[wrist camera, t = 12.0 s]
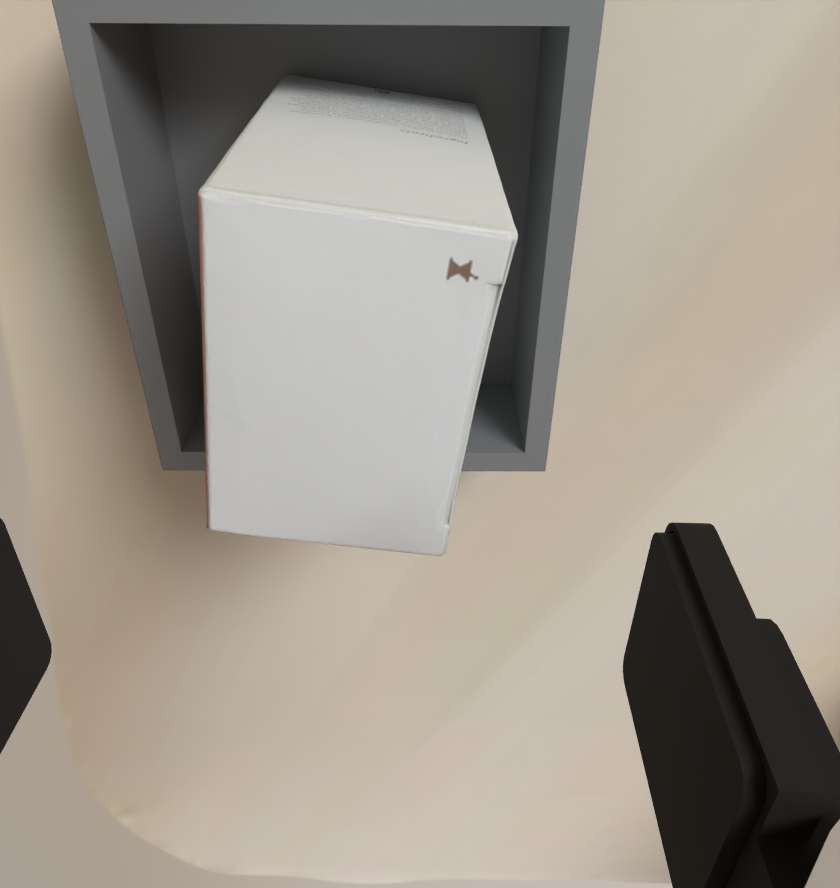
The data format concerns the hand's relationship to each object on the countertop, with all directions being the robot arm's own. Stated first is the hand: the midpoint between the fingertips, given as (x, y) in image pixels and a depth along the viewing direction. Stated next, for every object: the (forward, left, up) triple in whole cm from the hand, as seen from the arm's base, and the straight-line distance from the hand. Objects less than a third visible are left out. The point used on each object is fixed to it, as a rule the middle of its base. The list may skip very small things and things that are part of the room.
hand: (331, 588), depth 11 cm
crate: (+1, 0, -16) cm, 16 cm away
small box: (0, 0, -16) cm, 15 cm away
